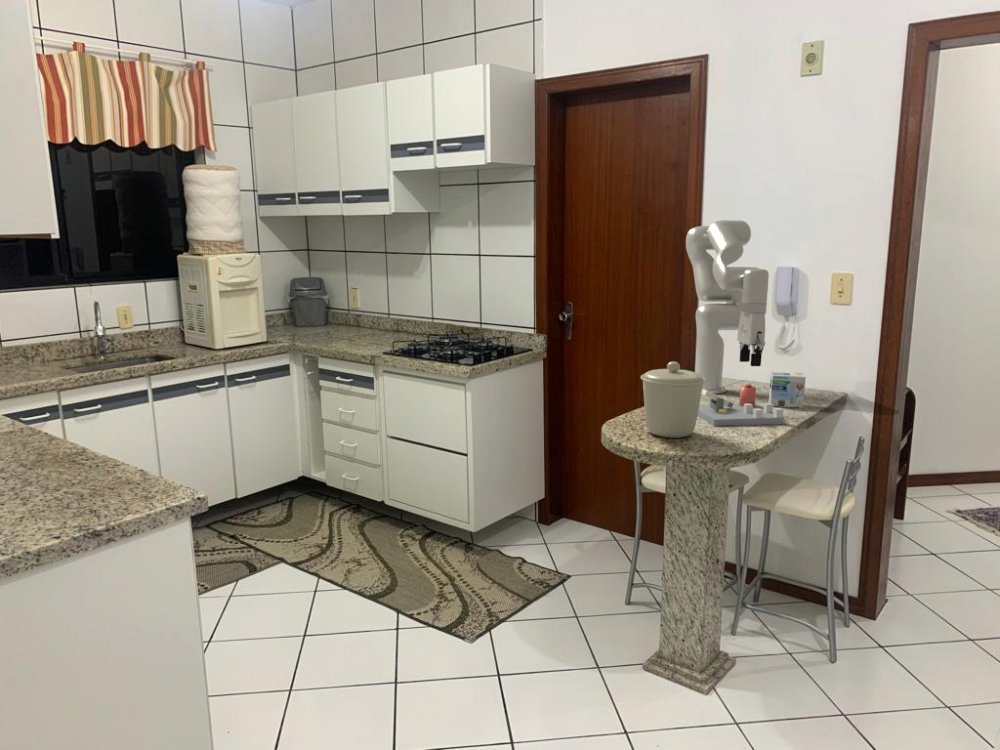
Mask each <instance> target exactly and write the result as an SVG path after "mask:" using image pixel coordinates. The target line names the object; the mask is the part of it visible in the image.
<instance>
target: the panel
mask: <svg viewBox="0 0 1000 750" xmlns="http://www.w3.org/2000/svg"><path fill="white" fill-rule="evenodd" d="M716 395H717V396H719V395H718V394H716ZM724 399H725V398H723V397H721V398H717V401H715V400H713V399H711V398H710V399H709V400H710V401H709V404H699V410H698V416H697V417H699V418H700V419H702V418H703V419H702V420H703V421H705V420H706V421H705V422H707V423H708V422H709V423H708V424H709V425H711V424H712V425H711V426H713V425H714V426H713V427H725V426H726V427H727V425H729V426H730V425H734V426H759V425H760V426H763V424H768V425H784V419H785V418H784V409H783V408H782V407H774V406H773V404H771V403H769V402H765V403H763V406H761V405H759V404H757V403H756V402H755V406H754V407H753V405H752V404H744V407H743V406H740V405H739V403H733V406H732V408H730V407H727V406H726V405H724ZM730 427H731V426H730Z"/></svg>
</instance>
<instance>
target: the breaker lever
mask: <svg viewBox="0 0 1000 750" xmlns="http://www.w3.org/2000/svg"><path fill="white" fill-rule="evenodd" d="M701 395H703V396H705V397H707V398H709V399H710V400H711V399H713V400H715V401H717V398H722V397H721V396H719V395H718V394H713V393H711V392H709V391H707V390H705V389H703V390H702V393H701ZM717 395H718V396H717ZM723 399H724V405H726V406H727V407H730V408H732V406H733V404H734V403H733V402H731V401H730V400H728V399H725V398H723Z"/></svg>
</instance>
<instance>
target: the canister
mask: <svg viewBox="0 0 1000 750" xmlns="http://www.w3.org/2000/svg"><path fill="white" fill-rule="evenodd" d="M680 368H681V365H680V363H679V362H677V361H670V362H668V363H667V365H666V368H658V369H651V370H649V371H647V372H645V373H643V374H641V375H640V379H641V380H642V390H643V402H644V404H643V405H644V406H643V407H644V415H645V425H646V427H647V430H648V431H649V433H651V434H653V435H654V436H658V437H663V438H672V439H674V438H675V439H676V438H685V437H689V436H690V435H692V433H693V432H694V431H695V428H696V425H697V419H698V416H697V415H698V410H699V405H701V404H700V403H701V398H702V394H701V393H702V387H703V383H704V382H705V381H706V379H705V378H704V377H702V376H701V375H700V374H698V373H695V371H691V370H688V369H680Z"/></svg>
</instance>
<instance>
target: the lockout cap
mask: <svg viewBox="0 0 1000 750" xmlns="http://www.w3.org/2000/svg"><path fill="white" fill-rule="evenodd" d="M739 389H740V390H739V403H738V404H739V405H740V406H743V407H744V404H752V405H753V407H754V406H755V403H756V394H757V392H756V391H757V387H756V386H752V384H750V383H749V384H748V383H747V384H745V385H741V386H740V388H739Z"/></svg>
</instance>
